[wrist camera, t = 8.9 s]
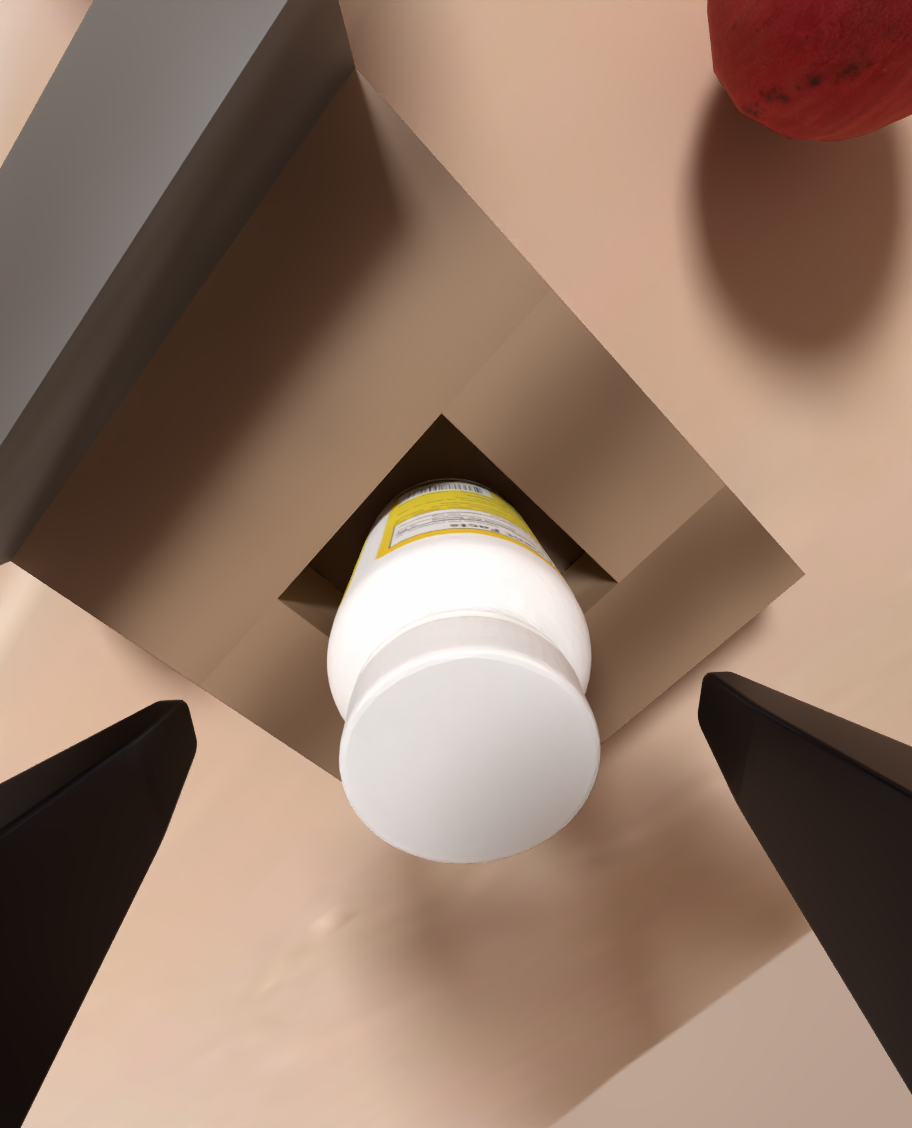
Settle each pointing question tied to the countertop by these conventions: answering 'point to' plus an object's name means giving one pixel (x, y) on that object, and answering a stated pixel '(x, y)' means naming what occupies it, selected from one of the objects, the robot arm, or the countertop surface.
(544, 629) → the supplement bottle
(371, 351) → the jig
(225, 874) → the countertop surface
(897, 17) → the onion
